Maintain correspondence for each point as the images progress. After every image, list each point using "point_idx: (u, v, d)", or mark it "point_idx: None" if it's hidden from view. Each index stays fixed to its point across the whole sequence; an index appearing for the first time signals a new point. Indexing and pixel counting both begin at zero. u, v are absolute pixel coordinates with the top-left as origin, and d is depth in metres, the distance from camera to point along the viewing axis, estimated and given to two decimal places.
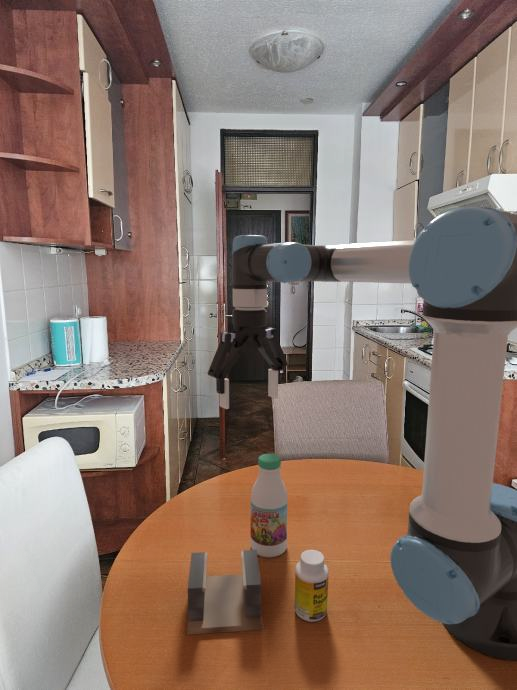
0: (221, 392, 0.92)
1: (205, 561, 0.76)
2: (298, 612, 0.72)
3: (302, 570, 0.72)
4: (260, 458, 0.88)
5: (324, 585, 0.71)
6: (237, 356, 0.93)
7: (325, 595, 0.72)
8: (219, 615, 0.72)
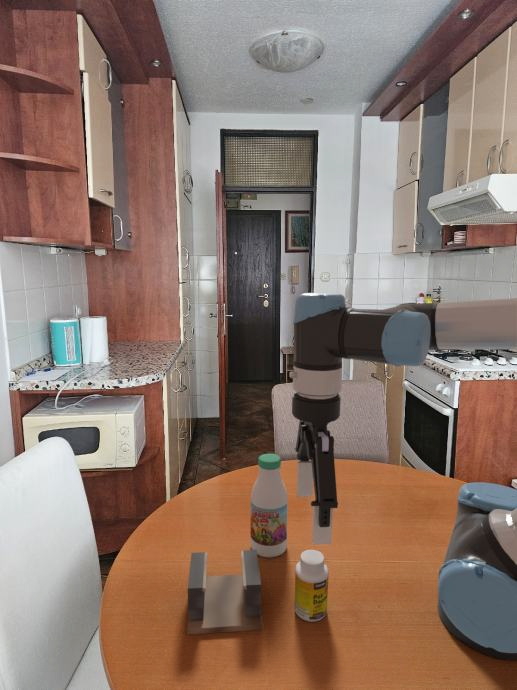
0: None
1: (205, 561, 0.76)
2: (298, 612, 0.72)
3: (302, 570, 0.72)
4: (260, 458, 0.88)
5: (324, 585, 0.71)
6: None
7: (325, 595, 0.72)
8: (219, 615, 0.72)
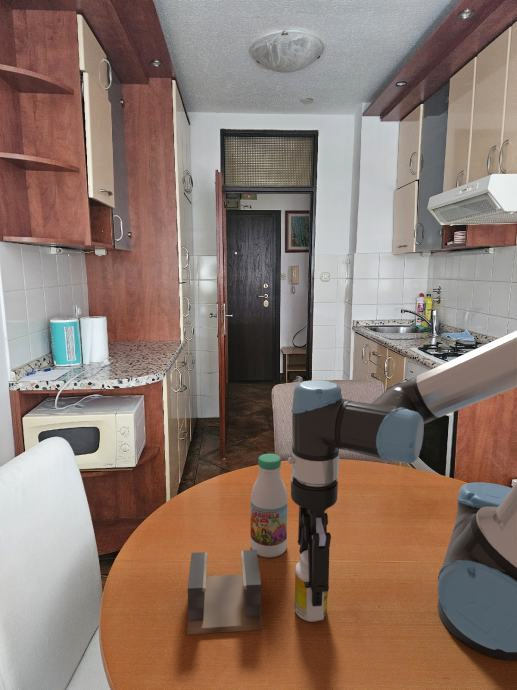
0: None
1: (205, 561, 0.76)
2: (298, 612, 0.72)
3: (302, 570, 0.72)
4: (260, 458, 0.88)
5: None
6: None
7: (325, 595, 0.72)
8: (219, 615, 0.72)
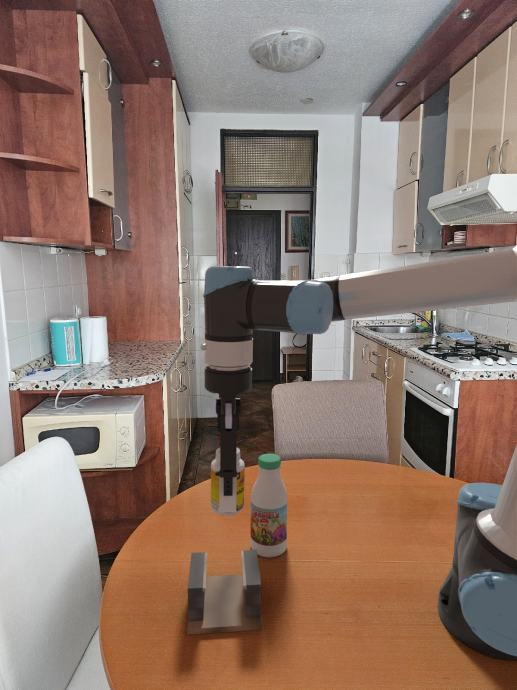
0: (232, 493, 0.68)
1: (205, 561, 0.76)
2: (213, 506, 0.71)
3: (217, 463, 0.70)
4: (260, 458, 0.88)
5: (238, 477, 0.69)
6: None
7: (240, 489, 0.70)
8: (219, 615, 0.72)
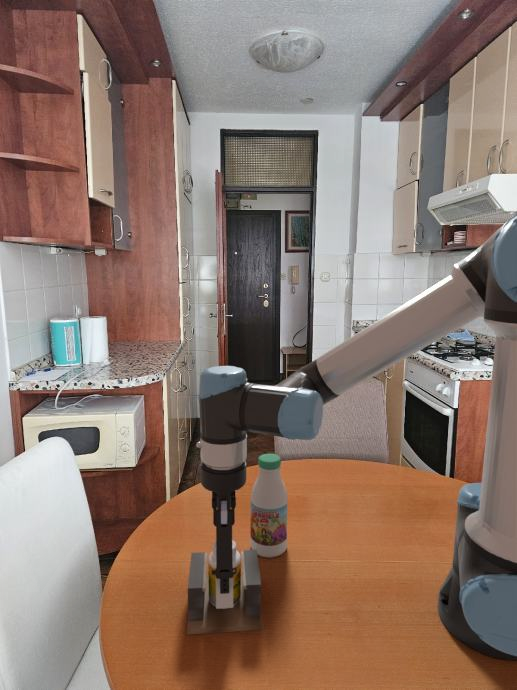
0: (229, 590, 0.67)
1: (205, 561, 0.76)
2: (210, 599, 0.73)
3: (214, 558, 0.73)
4: (260, 458, 0.88)
5: (234, 572, 0.72)
6: None
7: (236, 582, 0.73)
8: (219, 615, 0.72)
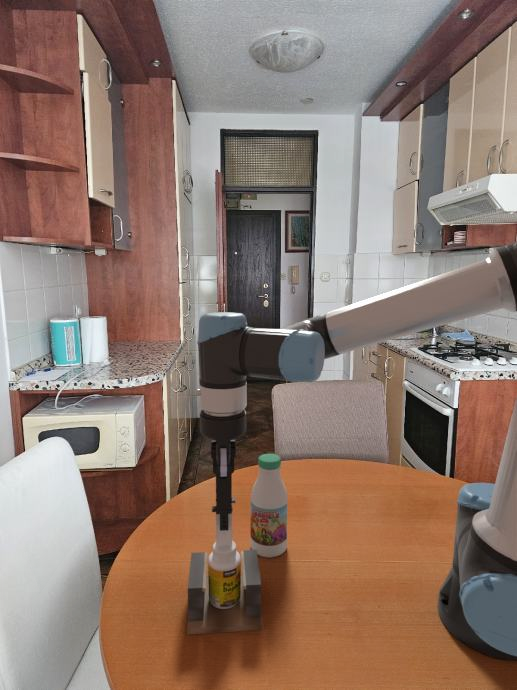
0: (228, 527, 0.72)
1: (205, 561, 0.76)
2: (210, 600, 0.74)
3: (213, 558, 0.73)
4: (260, 458, 0.88)
5: (234, 573, 0.72)
6: None
7: (236, 583, 0.73)
8: (219, 615, 0.72)
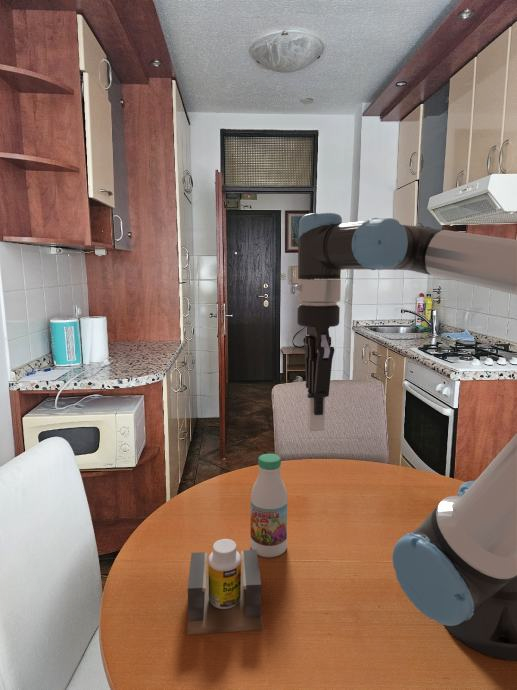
0: None
1: (205, 561, 0.76)
2: (210, 600, 0.74)
3: (214, 558, 0.73)
4: (260, 458, 0.88)
5: (234, 573, 0.72)
6: None
7: (236, 583, 0.73)
8: (219, 615, 0.72)
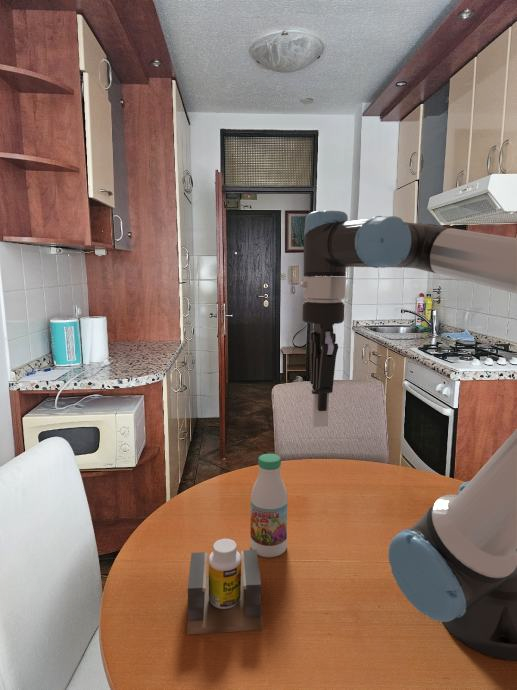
0: None
1: (205, 561, 0.76)
2: (210, 599, 0.74)
3: (214, 558, 0.73)
4: (260, 458, 0.88)
5: (234, 573, 0.72)
6: None
7: (236, 583, 0.73)
8: (219, 615, 0.72)
